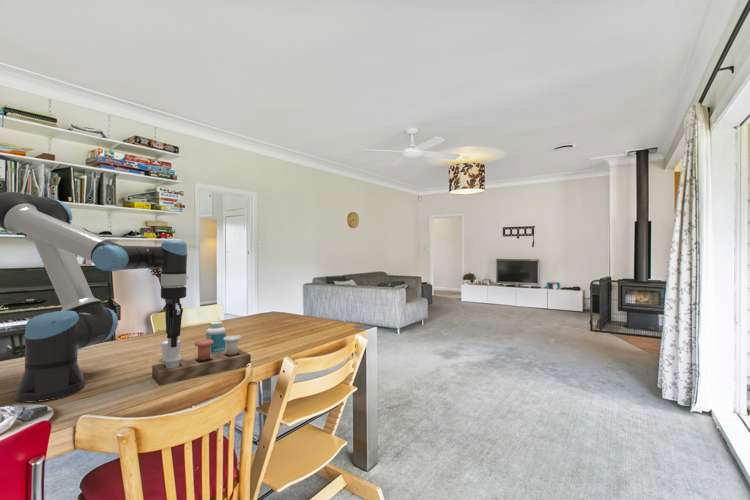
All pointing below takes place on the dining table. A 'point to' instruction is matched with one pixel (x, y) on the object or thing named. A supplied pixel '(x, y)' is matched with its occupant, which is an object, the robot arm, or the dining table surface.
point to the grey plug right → (232, 344)
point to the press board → (199, 367)
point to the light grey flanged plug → (165, 348)
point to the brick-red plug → (204, 349)
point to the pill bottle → (216, 337)
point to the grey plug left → (172, 361)
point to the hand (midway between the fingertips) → (172, 356)
